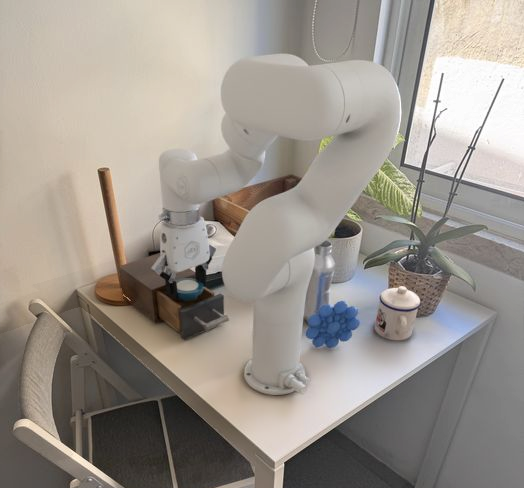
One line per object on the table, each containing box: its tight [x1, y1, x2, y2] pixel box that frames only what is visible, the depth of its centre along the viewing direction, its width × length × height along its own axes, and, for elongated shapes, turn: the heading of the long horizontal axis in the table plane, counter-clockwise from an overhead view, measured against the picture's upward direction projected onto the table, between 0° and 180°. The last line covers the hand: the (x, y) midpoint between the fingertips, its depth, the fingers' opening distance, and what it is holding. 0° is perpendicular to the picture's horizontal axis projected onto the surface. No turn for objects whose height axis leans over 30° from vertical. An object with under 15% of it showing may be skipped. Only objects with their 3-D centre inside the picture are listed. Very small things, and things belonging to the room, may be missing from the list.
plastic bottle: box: [303, 240, 336, 323], centre depth 117 cm, size 6×7×20 cm
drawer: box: [155, 286, 230, 341], centre depth 117 cm, size 19×11×7 cm, turn 42°
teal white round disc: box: [176, 278, 203, 301], centre depth 115 cm, size 7×7×3 cm
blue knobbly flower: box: [305, 300, 361, 349], centre depth 112 cm, size 12×7×12 cm, turn 93°
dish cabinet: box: [118, 252, 196, 324], centre depth 125 cm, size 15×13×9 cm
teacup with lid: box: [374, 285, 421, 342], centre depth 116 cm, size 12×9×12 cm
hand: (187, 289), depth 115 cm, fingers closed on teal white round disc, 7 cm apart
